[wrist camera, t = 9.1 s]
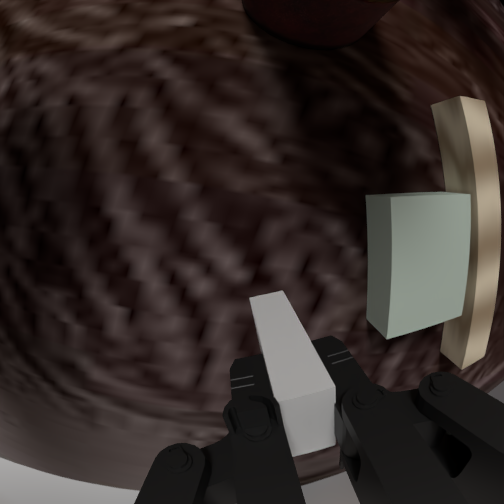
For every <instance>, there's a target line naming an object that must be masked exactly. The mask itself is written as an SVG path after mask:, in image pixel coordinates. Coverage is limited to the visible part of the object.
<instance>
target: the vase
mask: <svg viewBox="0 0 504 504" xmlns="http://www.w3.org/2000/svg"><path fill="white" fill-rule="evenodd" d="M398 1H399V0H242V3H243V6H244V9H245V10H246V12H247V14H248V15H249V17H250V18H251V19H252V20H253V21H254V22H255V23H256V24H257V25H258V26H259V27H260V28H262V29H263V30H265V31H266V32H268V33H269V34H271V35H273V36H274V37H276V38H278V39H280V40H283V41H285V42H288V43H290V44H294V45H297V46H300V47H305V48H310V49H319V50H332V49H338V48H343V47H346V46H349V45H351V44H353V43H355V42H356V41H358V40H359V39H360V38H361V37H362V36H363V35H364V34H365V33H366V32H367V31H368V30H369V29H370V28H371V27H372V26H373V25H374V24H375V23H376V22H377V21H378V20H379V19H380V18H381V17H382V16H384V15H385V14H386V13H387V12H388V11H389V10H390V9H391V8H392V7H393V6H394V5H395V4H396V3H397V2H398Z"/></svg>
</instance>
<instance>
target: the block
mask: <svg viewBox="0 0 504 504" xmlns="http://www.w3.org/2000/svg"><path fill="white" fill-rule="evenodd" d="M366 211H367V234H368V293H367V317H366V319H367V320H368V321H369V322H370V323H371V324H372V325H373V326H374V327H375V328H376V329H377V330H378V331H379V332H380V333H381V334H382V335H383V336H384V337H385V338H386V339H390V338H393V337H397V336H400V335H404V334H407V333H411V332H414V331H417V330H420V329H424V328H427V327H430V326H433V325H436V324H439V323H442V322H445V321H447V320H450V319H453V318H456V317H459V316H461V315H462V310H463V304H464V298H465V291H466V283H467V275H468V265H469V252H470V230H471V200H470V194H463V193H450V192H420V193H395V194H376V195H366Z"/></svg>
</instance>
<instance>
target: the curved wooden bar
mask: <svg viewBox="0 0 504 504" xmlns="http://www.w3.org/2000/svg"><path fill="white" fill-rule="evenodd" d="M431 108H432V113H433V117H434V121H435V126H436V131H437V135H438V141H439V146H440V152H441V158H442V165H443V172H444V180H445V189H446V192H450V193H463V194H470V200H471V230H470V252H469V265H468V275H467V283H466V291H465V298H464V304H463V310H462V315H461V316H459V317H456V318H453V319H450V320H447V321H445V322H444V329H443V336H442V343H441V349H440V352H442V353H443V354H444V355H445V356H446V357H447V358H448V359H450V360H451V361H452V362H453V363H454V364H455V365H457V366H458V367H459V368H460V369H461V370H462V369H464V368H466V367H467V366H469V365H471V364H472V363H474V362H476V361H477V360H479V359H480V358H482V357H483V356H484V355H485V351H486V347H487V343H488V338H489V334H490V329H491V324H492V319H493V313H494V307H495V301H496V294H497V286H498V276H499V265H500V248H501V206H500V189H499V178H498V168H497V161H496V153H495V147H494V141H493V136H492V131H491V126H490V121H489V117H488V112H487V108H486V104H485V101H482V100H478V99H473V98H468V97H463V96H458V97H455V98H452V99H449V100H446V101H442V102H439V103H436V104H433V105H431Z"/></svg>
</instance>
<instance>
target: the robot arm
mask: <svg viewBox="0 0 504 504" xmlns="http://www.w3.org/2000/svg"><path fill="white" fill-rule="evenodd" d="M250 303H251V308H252V312H253V317H254V322H255V326H256V331H257V336H258V340H259V345H260V349H261V354H259V355H254V356H250V357H245V358H240V359H235V360H234V362H233V364H232V366H231V368H230V379H231V394H232V400H231V401H229V403H228V404H227V405H226V406H225V408H224V411H223V415H222V416H223V418H224V421H225V423H226V425H227V428H228V430H229V433H228V435H227V436H226V437H224V438H223V439H222V440H220V441H218V442H216V443H214V444H212V445H209V446H206V447H204V448H201V449H199V448H198V447H196V446H195V445H191V444H188V443H177V444H174V445H171V446H168V447H166V448H165V449H163V450H162V451H160V453H159V454H158V455H157V457H156V458H155V460H154V462H153V464H152V466H151V469H150V471H149V473H148V475H147V477H146V479H145V481H144V484H143V486H142V488H141V490H140V492H139V494H138V497H137V499H136V501H135V503H134V504H306V503H305V499H304V496H303V493H302V489H301V485H300V482H299V478H298V475H297V471H296V468H295V464H294V461H293V457H294V456H298V455H302V454H306V453H310V452H313V451H317V450H320V449H324V448H327V447H330V446H334V445H335V442H336V439H337V441H338V443H339V445H340V462H339V465H340V469H343V468H344V467H345V469H346V472H347V474H348V476H349V479H350V481H351V483H352V486H353V488H354V490H355V493H356V495H357V497H358V500H359V502H360V504H504V404H503V403H502V402H500V401H499V400H497V399H495V398H493V397H492V396H490V395H488V394H487V393H485V392H483V391H481V390H480V389H478V388H476V387H475V386H473V385H471V384H469V383H468V382H466V381H464V380H463V379H461V378H459V377H457V376H456V375H454V374H451V373H448V372H435V373H431V374H429V375H427V376H425V377H424V378H423V379H422V381H421V382H420V385H419V388H418V389H413V390H407V391H401V392H389V391H388V390H386V389H385V388H384V387H383V386H380V385H377V384H372V383H371V381H370V380H369V378H368V377H367V376H366V374H365V373H364V371H363V370H362V369H361V367H360V366H359V365H358V363H357V362H356V360H355V359H354V358H353V357H352V355H351V353H350V352H349V351H348V349H347V348H346V346H345V345H344V344H343V342H342V341H340V340H339V339H337V338H335V337H333V336H328V337H324V338H320V339H317V340H313V341H310V339H309V337H308V335H307V334H306V332H305V330H304V328H303V326H302V324H301V323H300V321H299V319H298V317H297V315H296V314H295V312H294V310H293V308H292V306H291V305H290V303H289V301H288V299H287V297H286V296H285V294H284V292H283V291H279V292H274V293H270V294H265V295H260V296H256V297H251V298H250Z"/></svg>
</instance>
